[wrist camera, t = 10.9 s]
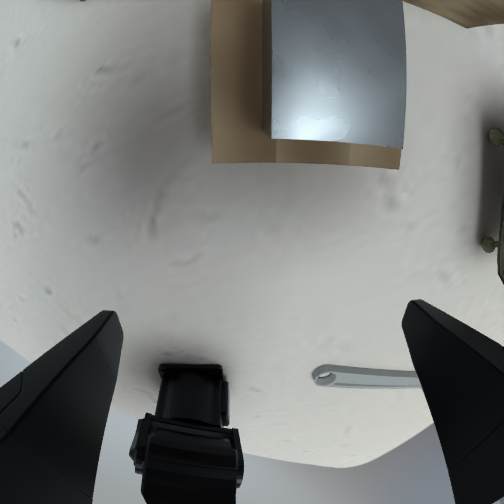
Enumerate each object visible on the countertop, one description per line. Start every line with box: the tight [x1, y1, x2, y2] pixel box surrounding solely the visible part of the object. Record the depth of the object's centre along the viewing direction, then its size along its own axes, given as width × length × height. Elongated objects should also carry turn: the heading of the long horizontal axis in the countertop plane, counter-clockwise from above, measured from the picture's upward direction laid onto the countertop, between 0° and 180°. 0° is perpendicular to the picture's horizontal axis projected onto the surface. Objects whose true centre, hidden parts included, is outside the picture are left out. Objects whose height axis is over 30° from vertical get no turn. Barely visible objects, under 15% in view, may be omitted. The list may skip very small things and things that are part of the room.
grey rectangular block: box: [262, 0, 406, 149], centre depth 12 cm, size 5×7×8 cm
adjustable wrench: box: [313, 365, 422, 389], centre depth 30 cm, size 25×6×2 cm, turn 68°
